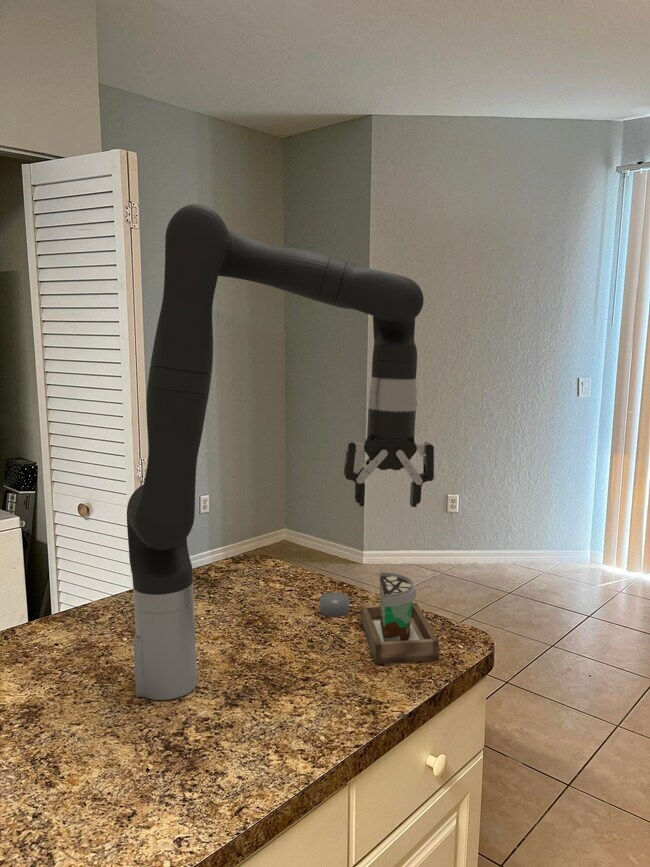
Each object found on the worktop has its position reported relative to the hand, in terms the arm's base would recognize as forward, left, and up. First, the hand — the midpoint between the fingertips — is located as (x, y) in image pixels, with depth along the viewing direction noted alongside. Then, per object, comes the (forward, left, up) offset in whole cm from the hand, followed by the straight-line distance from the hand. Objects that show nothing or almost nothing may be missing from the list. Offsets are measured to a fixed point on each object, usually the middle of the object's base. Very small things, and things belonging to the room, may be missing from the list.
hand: (387, 505), depth 112 cm
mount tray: (+4, +11, -28) cm, 31 cm away
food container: (+4, +11, -27) cm, 30 cm away
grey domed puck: (-6, +26, -29) cm, 39 cm away
